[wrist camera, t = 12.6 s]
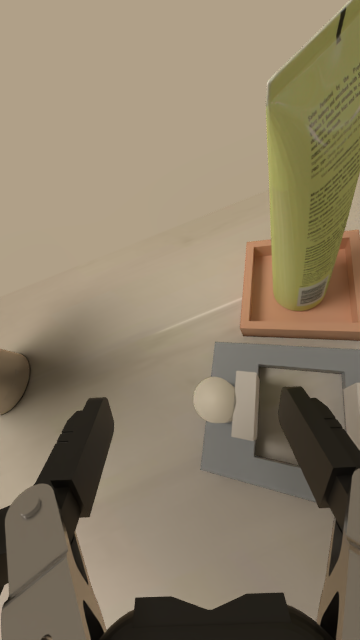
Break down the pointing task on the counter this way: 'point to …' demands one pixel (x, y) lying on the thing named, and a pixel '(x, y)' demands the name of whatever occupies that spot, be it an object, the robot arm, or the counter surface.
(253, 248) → the tray
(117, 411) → the counter surface
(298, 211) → the tube
